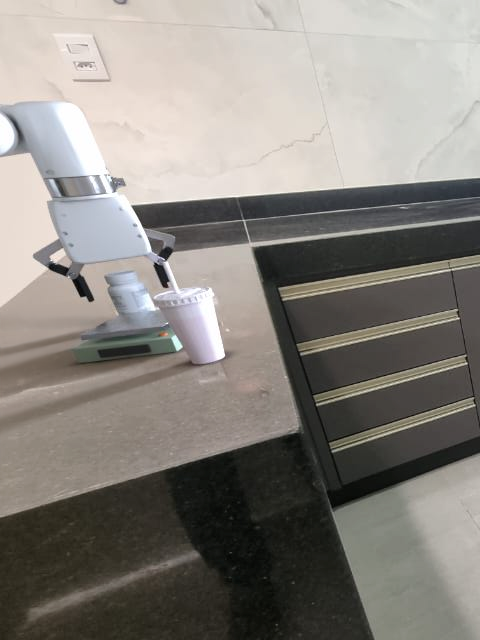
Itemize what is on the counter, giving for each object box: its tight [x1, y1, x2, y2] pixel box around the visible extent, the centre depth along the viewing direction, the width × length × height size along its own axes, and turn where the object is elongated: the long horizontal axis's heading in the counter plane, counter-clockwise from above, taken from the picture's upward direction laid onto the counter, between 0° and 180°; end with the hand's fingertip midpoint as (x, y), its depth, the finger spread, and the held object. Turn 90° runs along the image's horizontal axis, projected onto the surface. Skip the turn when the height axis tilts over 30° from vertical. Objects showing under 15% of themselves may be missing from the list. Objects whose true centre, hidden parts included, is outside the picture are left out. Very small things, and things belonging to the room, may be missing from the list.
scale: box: [71, 327, 184, 364], centre depth 81 cm, size 12×12×2 cm
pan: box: [79, 309, 170, 341], centre depth 80 cm, size 10×10×1 cm
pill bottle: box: [103, 270, 156, 315], centre depth 90 cm, size 5×5×8 cm
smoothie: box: [151, 261, 226, 365], centre depth 72 cm, size 6×6×14 cm
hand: (129, 293), depth 90 cm, fingers open, 9 cm apart
